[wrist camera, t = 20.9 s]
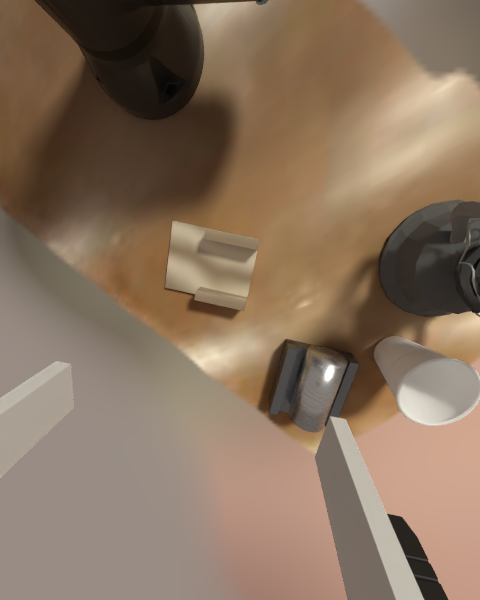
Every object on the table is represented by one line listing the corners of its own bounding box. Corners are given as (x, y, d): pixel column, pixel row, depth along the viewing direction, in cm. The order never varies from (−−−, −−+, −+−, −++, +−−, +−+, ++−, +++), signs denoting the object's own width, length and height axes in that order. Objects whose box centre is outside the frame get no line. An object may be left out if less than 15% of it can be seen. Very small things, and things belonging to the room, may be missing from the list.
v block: (286, 338, 41) (288, 348, 37) (351, 353, 40) (359, 364, 37) (268, 399, 44) (269, 413, 41) (328, 413, 44) (333, 428, 40)
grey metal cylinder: (286, 401, 42) (290, 427, 36) (304, 342, 39) (311, 361, 33) (319, 408, 42) (328, 436, 36) (340, 350, 39) (353, 370, 33)
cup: (354, 372, 41) (386, 419, 31) (369, 320, 38) (410, 352, 28) (412, 380, 41) (465, 432, 30) (431, 328, 38) (497, 365, 27)
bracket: (173, 220, 37) (165, 219, 34) (260, 239, 36) (259, 239, 33) (166, 286, 40) (157, 291, 37) (245, 304, 40) (244, 311, 36)
